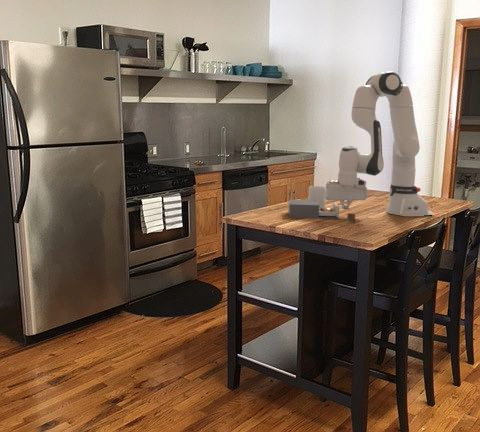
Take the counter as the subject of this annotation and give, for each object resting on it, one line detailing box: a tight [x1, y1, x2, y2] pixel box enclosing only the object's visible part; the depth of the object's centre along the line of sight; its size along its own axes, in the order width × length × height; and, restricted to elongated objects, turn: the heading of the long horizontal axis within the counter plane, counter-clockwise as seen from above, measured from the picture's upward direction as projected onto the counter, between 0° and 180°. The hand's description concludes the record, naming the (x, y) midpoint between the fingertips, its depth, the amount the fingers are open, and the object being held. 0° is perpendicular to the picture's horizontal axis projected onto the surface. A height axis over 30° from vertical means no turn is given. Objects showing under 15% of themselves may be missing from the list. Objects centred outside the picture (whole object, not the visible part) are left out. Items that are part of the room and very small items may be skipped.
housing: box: [288, 199, 339, 220], centre depth 262 cm, size 23×13×6 cm, turn 87°
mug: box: [307, 185, 327, 208], centre depth 281 cm, size 12×9×11 cm
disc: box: [320, 206, 333, 212], centre depth 261 cm, size 6×6×2 cm
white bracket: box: [319, 202, 340, 218], centre depth 261 cm, size 14×13×5 cm
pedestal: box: [346, 212, 356, 223], centre depth 250 cm, size 3×3×4 cm
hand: (345, 209), depth 261 cm, fingers closed
